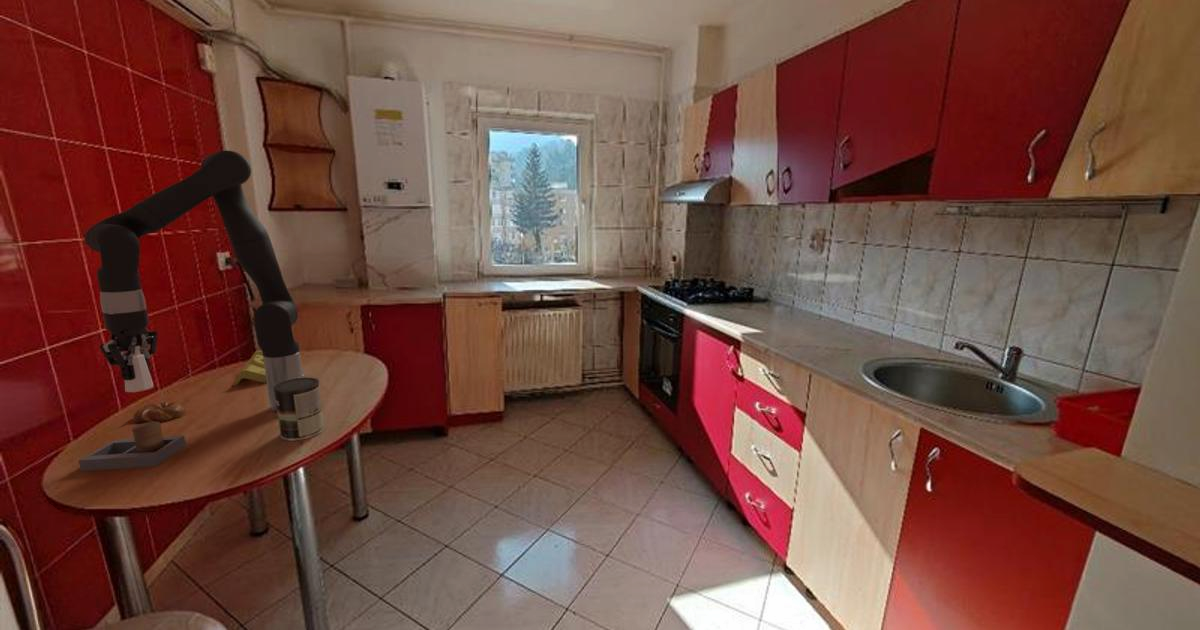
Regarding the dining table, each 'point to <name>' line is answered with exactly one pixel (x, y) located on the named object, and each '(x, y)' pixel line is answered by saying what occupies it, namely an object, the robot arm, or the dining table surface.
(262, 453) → the dining table surface
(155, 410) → the bread roll
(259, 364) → the plastic component
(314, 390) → the coffee can
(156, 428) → the fitted dowel
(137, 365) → the salt shaker
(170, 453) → the grey rectangular open block
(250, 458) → the dining table surface
